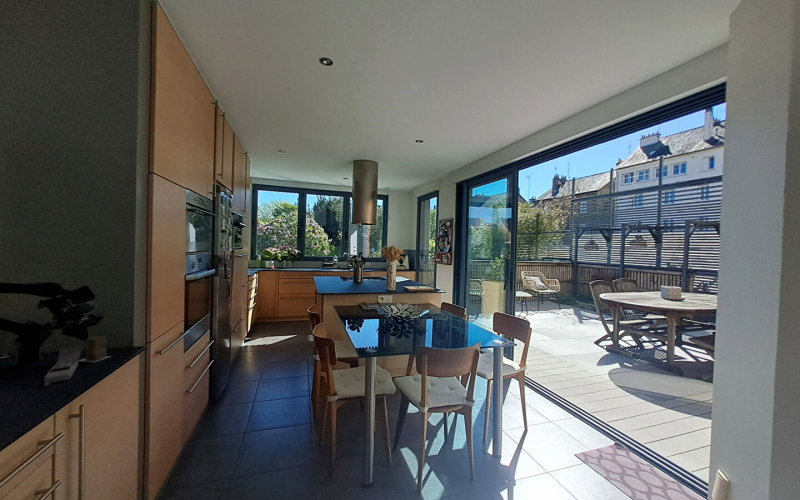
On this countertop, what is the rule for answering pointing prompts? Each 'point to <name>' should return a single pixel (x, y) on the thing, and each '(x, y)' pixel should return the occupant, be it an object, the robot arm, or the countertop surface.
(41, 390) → the countertop surface
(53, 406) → the countertop surface
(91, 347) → the walnut block
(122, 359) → the countertop surface
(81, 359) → the grey mat
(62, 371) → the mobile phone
